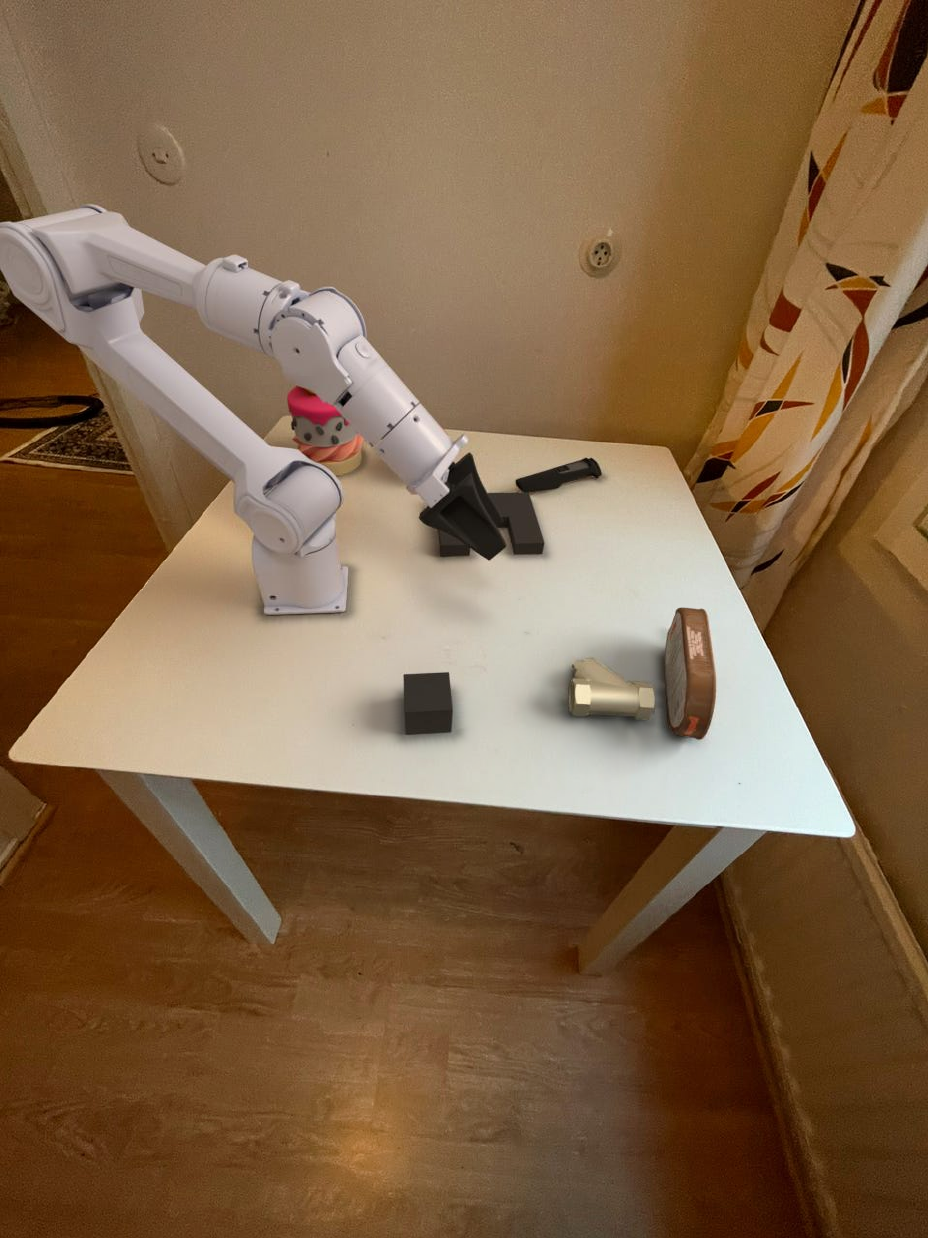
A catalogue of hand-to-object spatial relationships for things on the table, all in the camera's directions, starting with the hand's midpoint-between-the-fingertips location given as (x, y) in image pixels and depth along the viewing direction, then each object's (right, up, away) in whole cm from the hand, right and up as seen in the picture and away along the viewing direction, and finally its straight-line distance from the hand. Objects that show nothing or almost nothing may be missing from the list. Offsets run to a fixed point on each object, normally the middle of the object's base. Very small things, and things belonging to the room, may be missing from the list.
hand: (496, 539), depth 53 cm
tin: (+20, -16, +8) cm, 27 cm away
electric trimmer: (+12, +14, +36) cm, 40 cm away
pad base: (0, +5, +27) cm, 27 cm away
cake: (-25, +18, +38) cm, 49 cm away
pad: (-7, -17, +5) cm, 19 cm away
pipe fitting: (+12, -16, +7) cm, 21 cm away
